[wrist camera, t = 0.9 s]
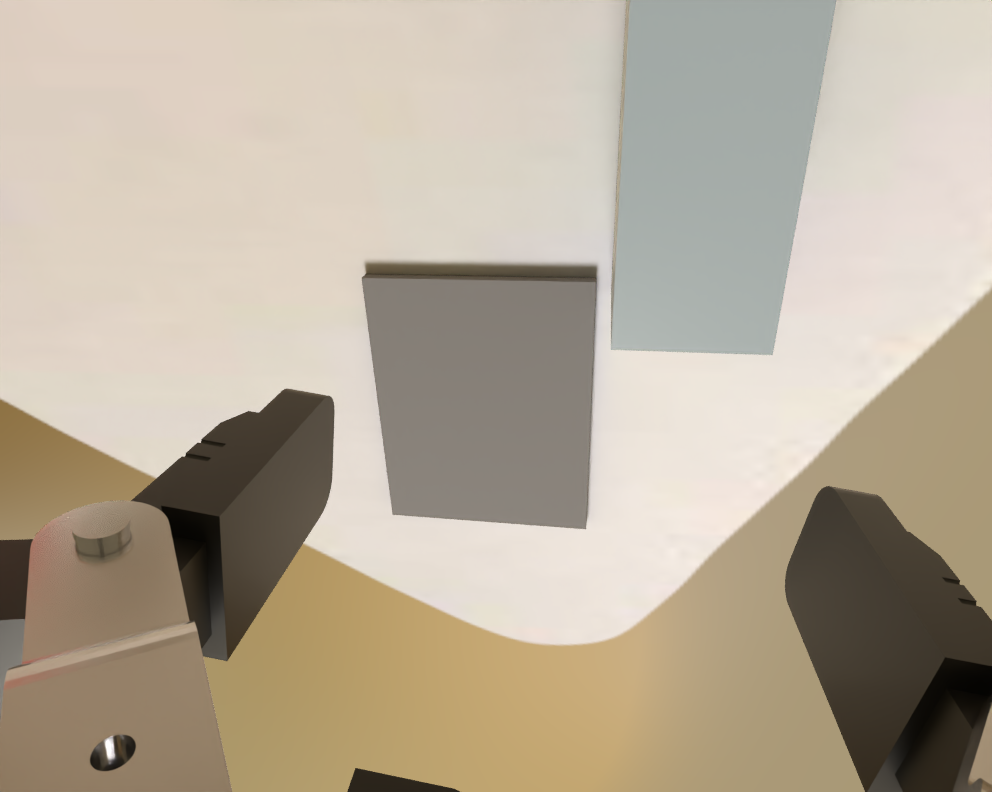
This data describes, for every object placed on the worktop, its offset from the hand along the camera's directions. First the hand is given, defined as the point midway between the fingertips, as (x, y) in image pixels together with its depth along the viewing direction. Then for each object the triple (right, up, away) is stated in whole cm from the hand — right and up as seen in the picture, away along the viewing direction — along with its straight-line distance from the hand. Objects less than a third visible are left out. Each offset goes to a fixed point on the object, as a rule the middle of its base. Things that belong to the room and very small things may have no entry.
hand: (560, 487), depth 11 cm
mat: (-2, +1, +23) cm, 23 cm away
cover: (+7, +12, +16) cm, 21 cm away
